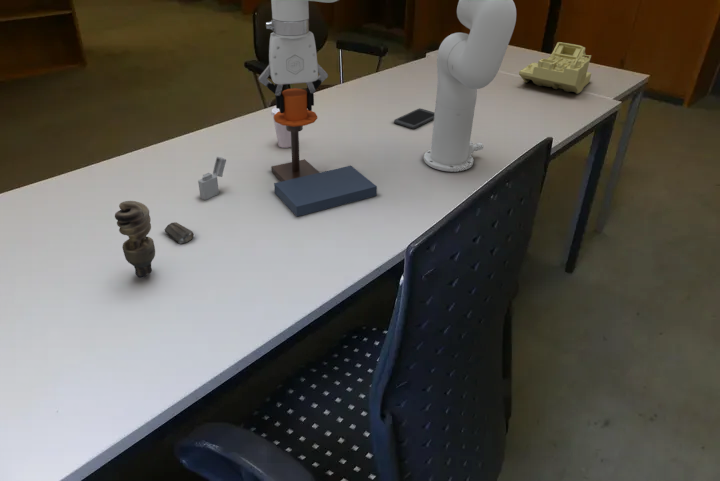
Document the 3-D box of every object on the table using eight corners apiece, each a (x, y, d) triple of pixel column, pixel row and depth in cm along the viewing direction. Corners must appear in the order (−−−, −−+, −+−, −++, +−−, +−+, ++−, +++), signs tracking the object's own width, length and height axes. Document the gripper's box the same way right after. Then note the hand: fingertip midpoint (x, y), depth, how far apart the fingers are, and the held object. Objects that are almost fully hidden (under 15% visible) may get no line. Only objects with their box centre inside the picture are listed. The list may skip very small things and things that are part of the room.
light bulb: (133, 266, 107) (117, 195, 99) (164, 266, 108) (150, 195, 99) (126, 285, 103) (108, 212, 94) (157, 284, 103) (142, 211, 95)
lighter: (205, 200, 129) (200, 167, 124) (200, 197, 129) (195, 165, 125) (229, 188, 133) (226, 157, 129) (224, 186, 134) (220, 154, 130)
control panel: (541, 33, 207) (600, 36, 197) (539, 74, 216) (594, 80, 207) (517, 58, 192) (579, 64, 182) (516, 102, 202) (575, 109, 192)
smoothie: (293, 151, 151) (291, 99, 144) (269, 148, 152) (266, 96, 145) (300, 141, 156) (298, 90, 149) (277, 139, 157) (274, 88, 150)
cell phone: (439, 116, 174) (440, 113, 174) (413, 129, 165) (413, 127, 165) (419, 110, 178) (419, 107, 178) (392, 122, 169) (393, 120, 169)
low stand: (350, 174, 141) (350, 165, 140) (376, 195, 132) (376, 186, 131) (274, 192, 132) (273, 183, 131) (296, 216, 124) (296, 206, 122)
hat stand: (304, 164, 145) (303, 111, 137) (321, 179, 138) (320, 124, 131) (271, 171, 141) (268, 117, 133) (286, 187, 135) (284, 131, 127)
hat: (305, 107, 137) (304, 82, 134) (325, 121, 130) (324, 95, 127) (266, 114, 133) (264, 89, 130) (284, 129, 126) (283, 103, 123)
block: (177, 227, 119) (176, 219, 118) (196, 237, 116) (195, 230, 115) (162, 234, 116) (161, 227, 115) (181, 245, 113) (180, 237, 112)
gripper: (251, 33, 116) (259, 119, 126) (335, 29, 120) (336, 112, 130) (247, 24, 122) (255, 107, 132) (327, 20, 126) (328, 101, 136)
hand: (295, 109), depth 131 cm, fingers closed on hat, 5 cm apart
